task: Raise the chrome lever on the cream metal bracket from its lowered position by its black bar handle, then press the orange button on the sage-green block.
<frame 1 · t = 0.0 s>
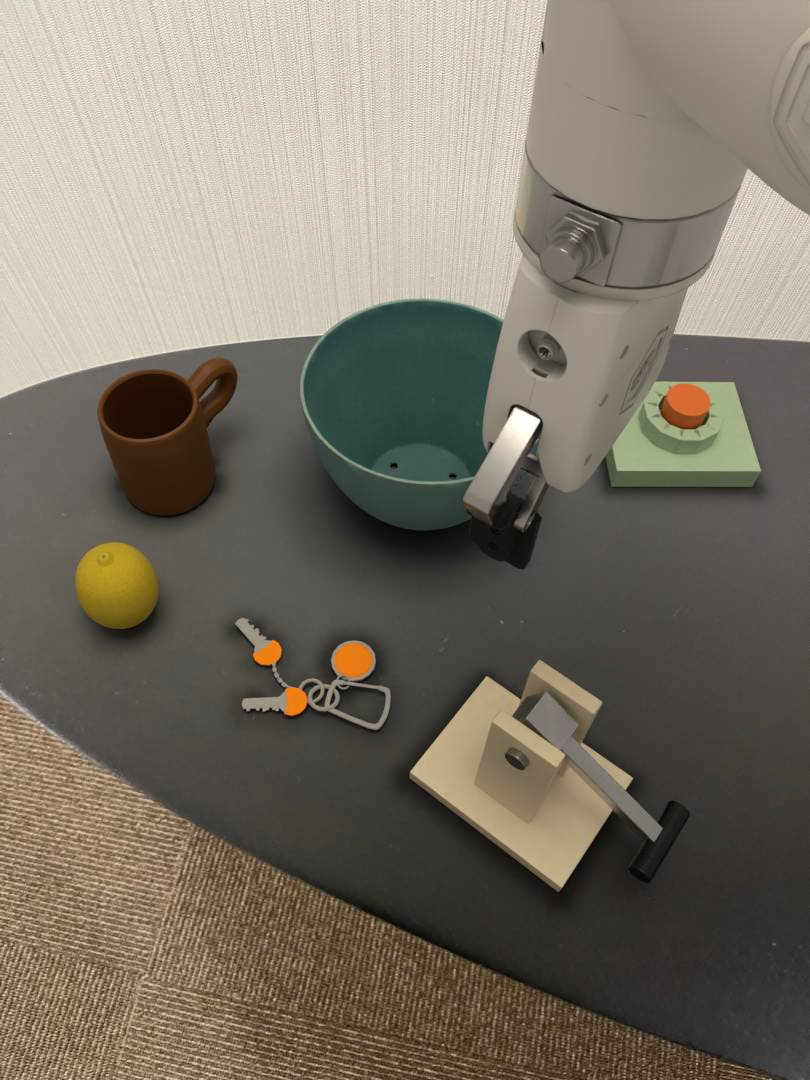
hand: (545, 486, 47), 23 cm above the table, tool pointing down, fingers open, 9 cm apart
button block: (670, 441, 79), on the table
key chain: (307, 678, 65), on the table
plant pot: (419, 487, 75), on the table
bracket: (519, 780, 62), on the table
lever: (597, 778, 54), point 8 cm above the table, hinge at -25.0°
button: (685, 406, 75), point 4 cm above the table, slide at 0.1 cm
mug: (191, 468, 76), on the table
lemon: (130, 615, 68), on the table
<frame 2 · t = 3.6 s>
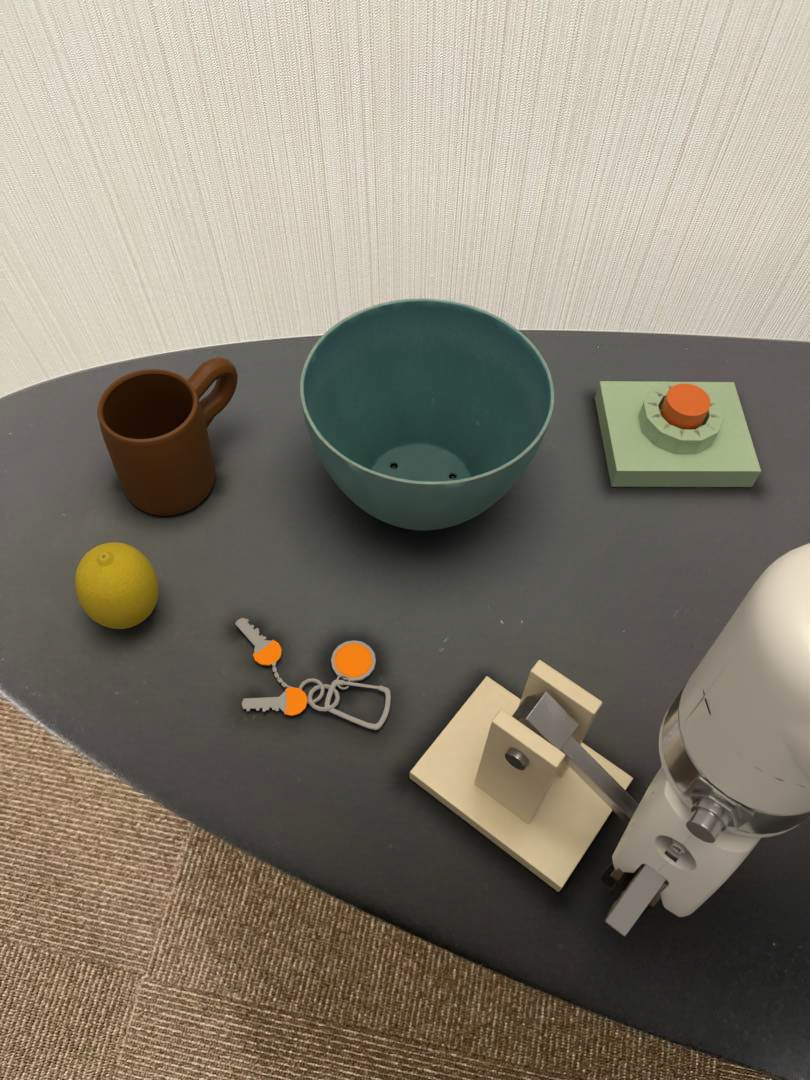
hand: (648, 852, 56), 3 cm above the table, tool pointing down, fingers closed on lever, 5 cm apart
lever: (597, 778, 54), point 8 cm above the table, hinge at -25.0°, touching gripper
everything else where it was.
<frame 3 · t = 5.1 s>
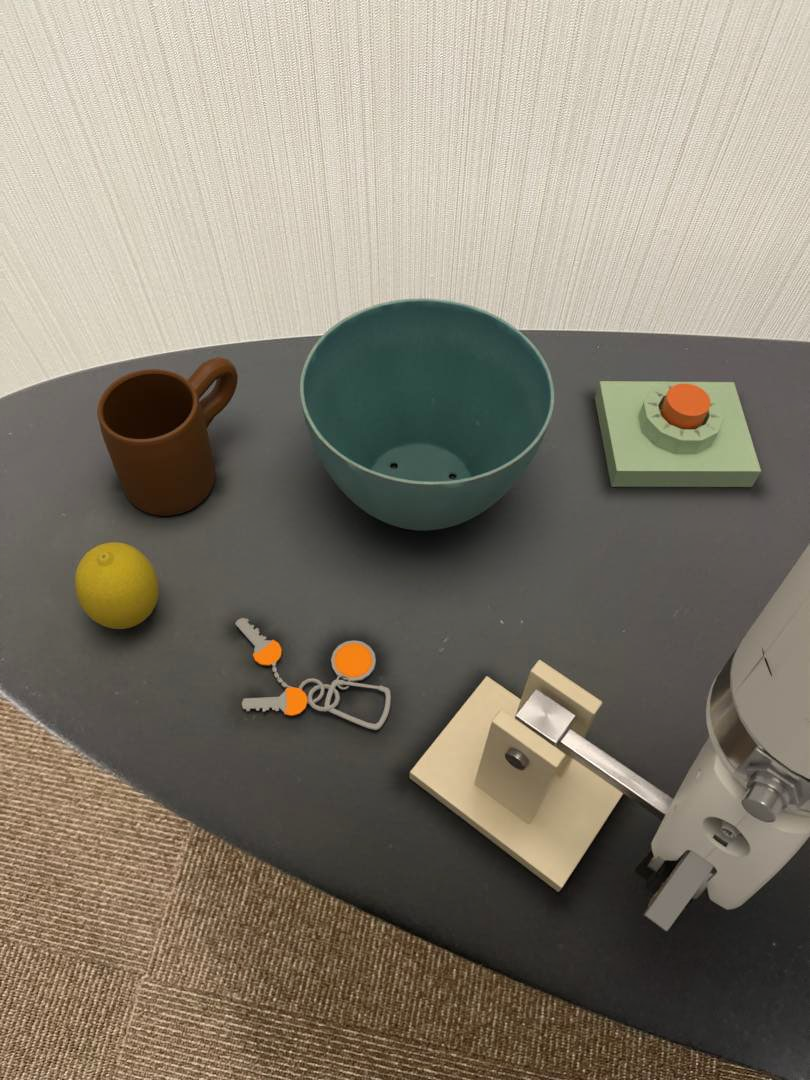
hand: (686, 842, 52), 8 cm above the table, tool pointing down, fingers closed on lever, 5 cm apart
lever: (611, 771, 52), point 10 cm above the table, hinge at 1.1°, touching gripper
everything else where it was.
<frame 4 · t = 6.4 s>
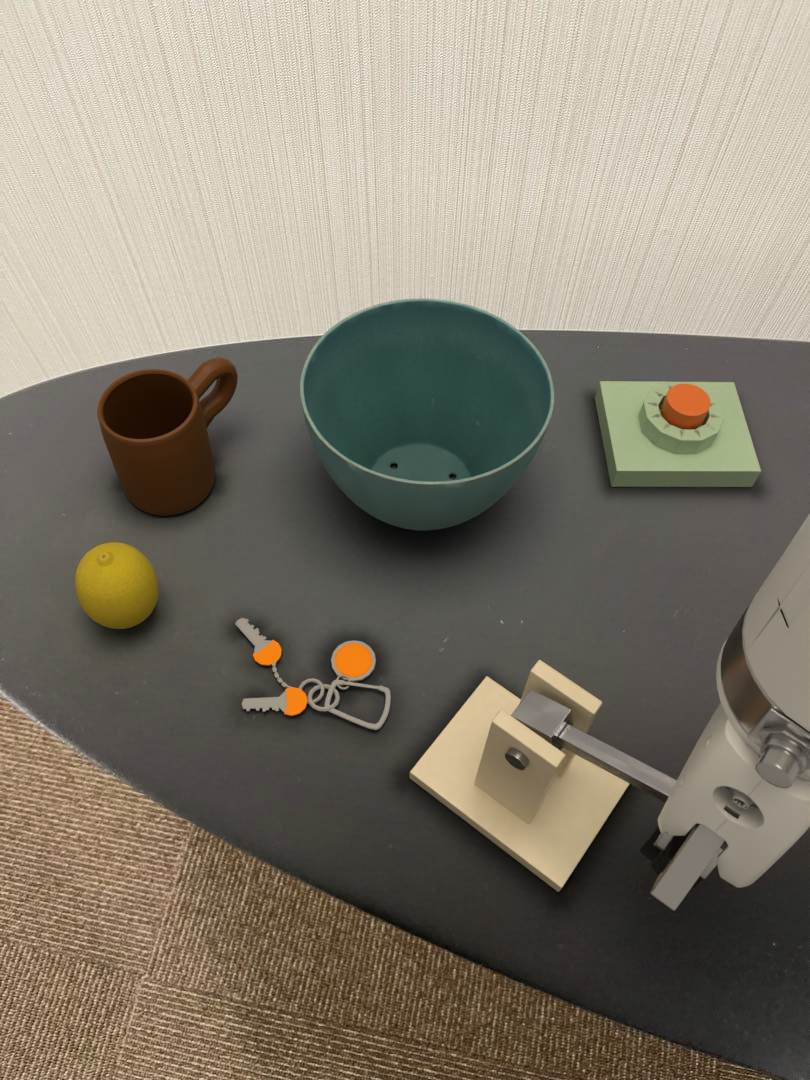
hand: (693, 821, 50), 11 cm above the table, tool pointing down, fingers closed on lever, 5 cm apart
lever: (613, 761, 51), point 11 cm above the table, hinge at 16.9°, touching gripper
everything else where it was.
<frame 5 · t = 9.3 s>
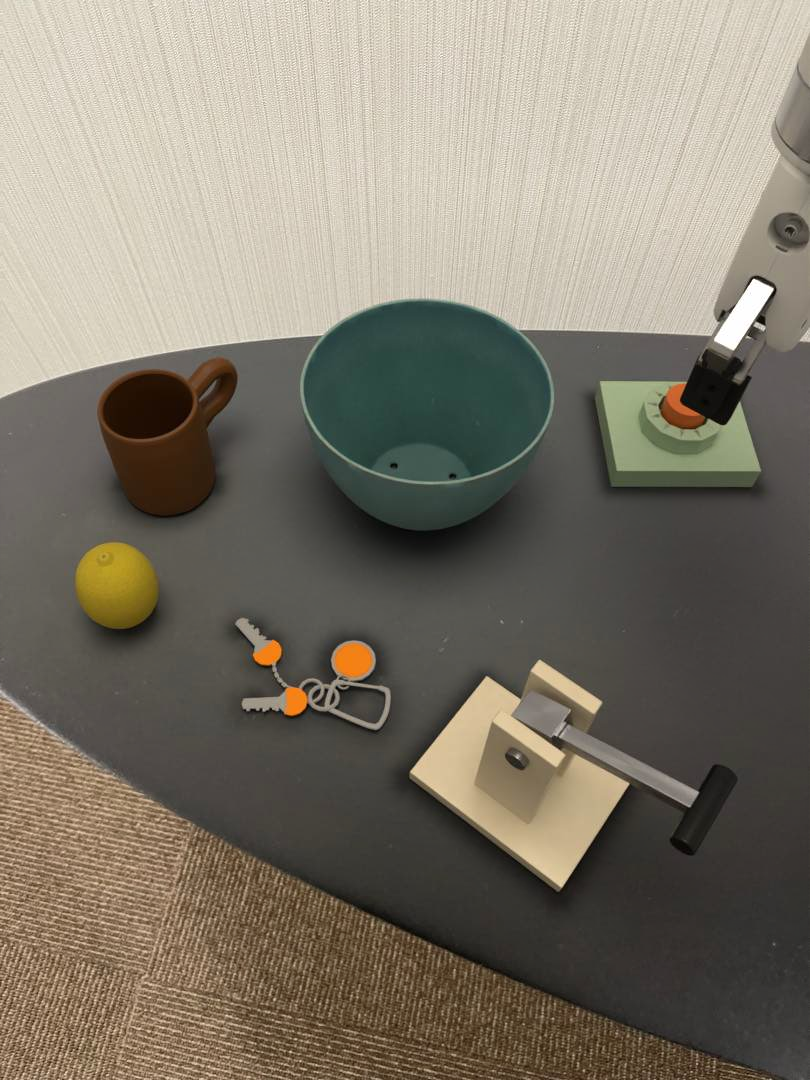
hand: (737, 366, 58), 19 cm above the table, tool pointing down, fingers open, 9 cm apart
lever: (613, 761, 51), point 11 cm above the table, hinge at 16.9°
everything else where it was.
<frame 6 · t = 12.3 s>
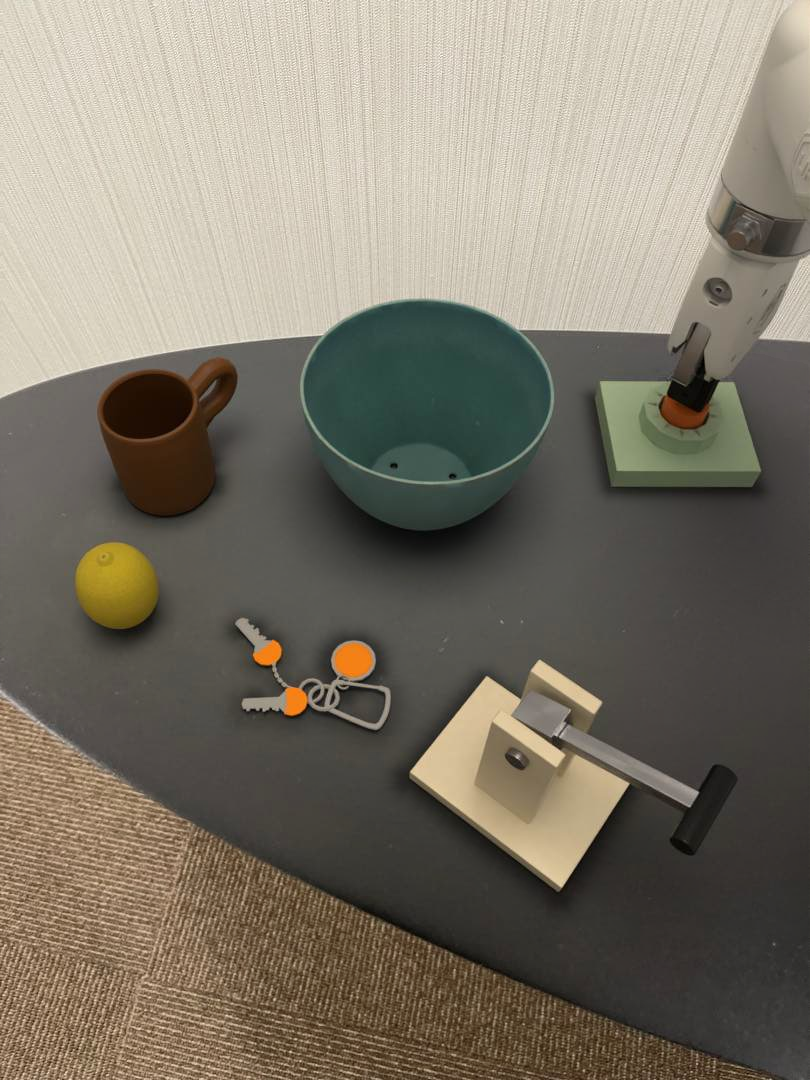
hand: (687, 398, 75), 5 cm above the table, tool pointing down, fingers closed
button: (685, 407, 75), point 4 cm above the table, slide at -0.1 cm, touching gripper
everything else where it was.
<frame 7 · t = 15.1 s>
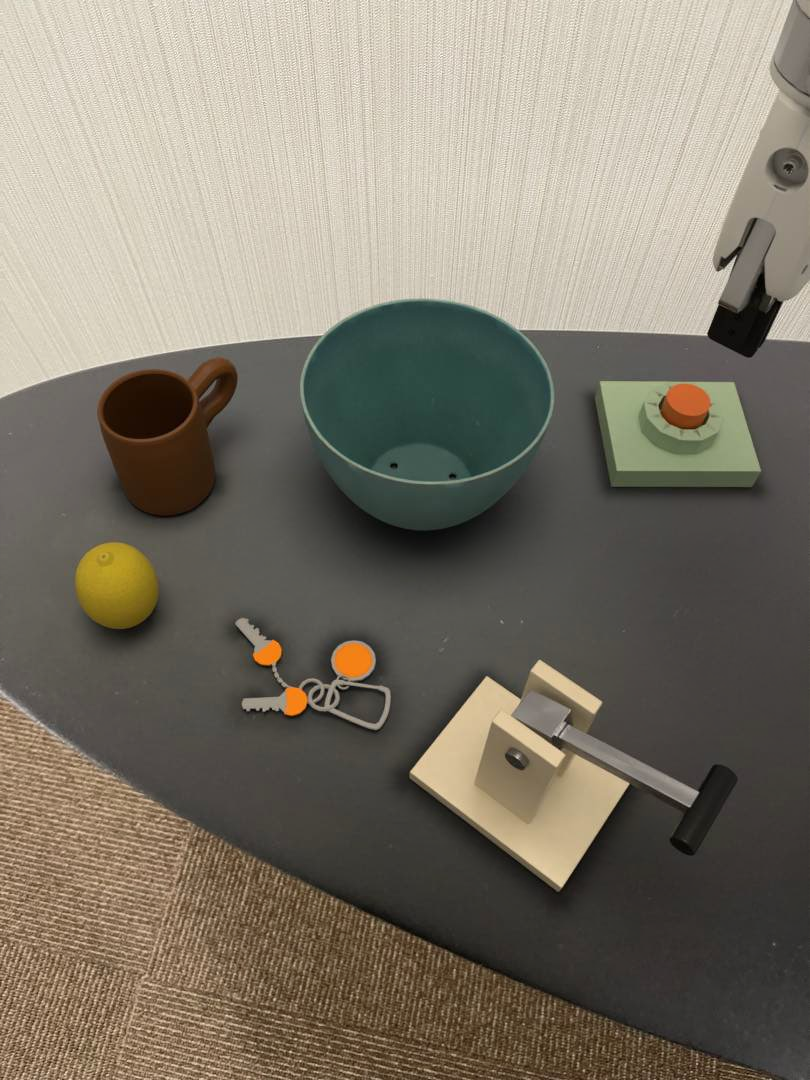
hand: (734, 341, 58), 20 cm above the table, tool pointing down, fingers closed
button: (685, 406, 75), point 4 cm above the table, slide at 0.1 cm
everything else where it was.
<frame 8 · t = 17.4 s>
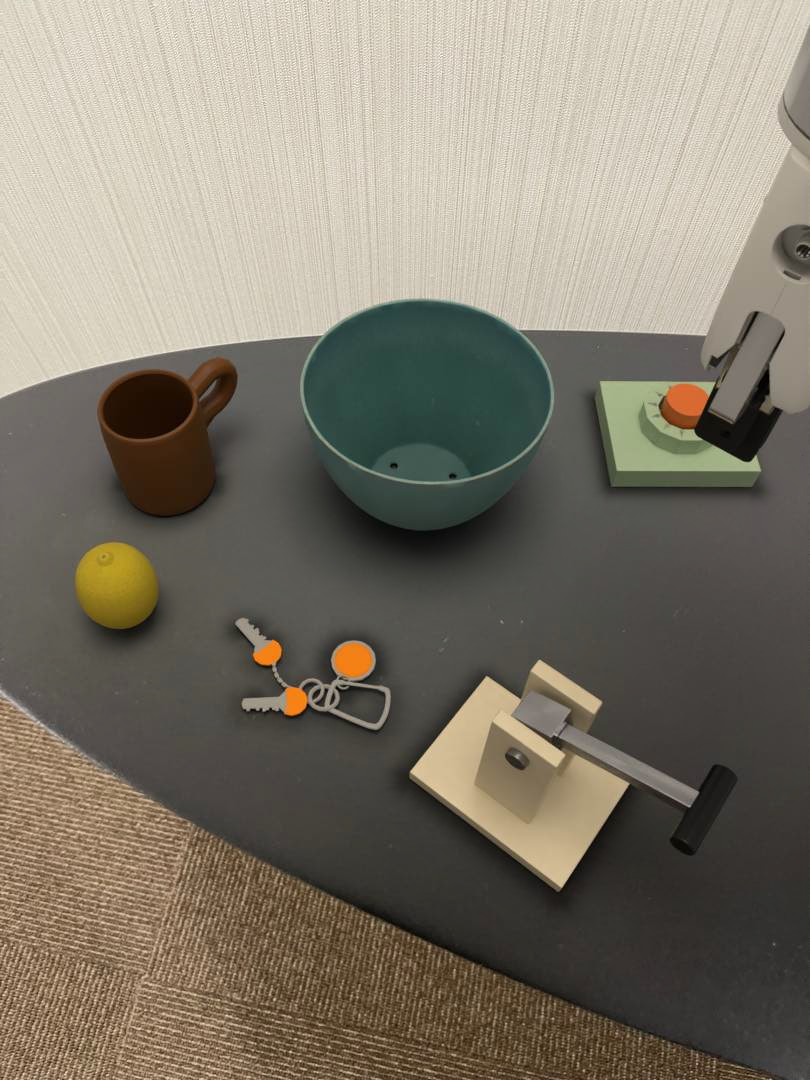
hand: (727, 439, 46), 25 cm above the table, tool pointing down, fingers closed
nothing on the table moved.
at the end: lever at +17° (first picture: -25°); button pushed in 1.1 cm at the most during the clip, back to where it started at the end; button slide at 0.1 cm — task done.
